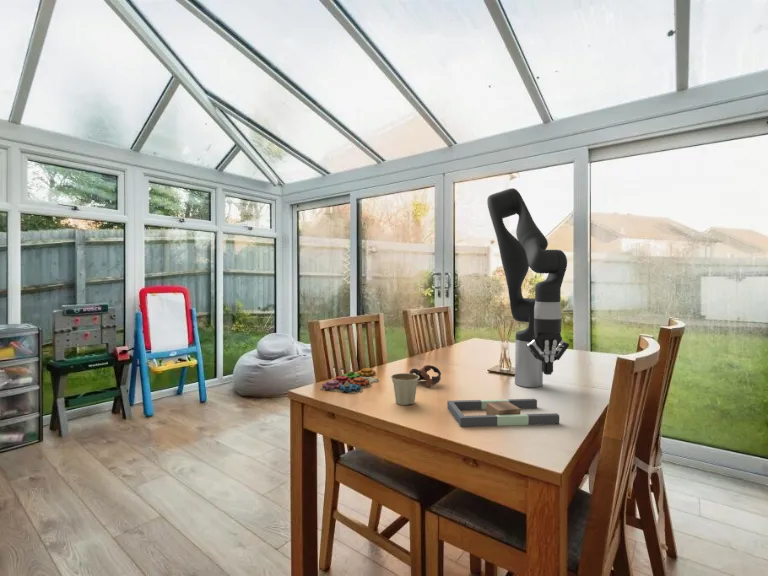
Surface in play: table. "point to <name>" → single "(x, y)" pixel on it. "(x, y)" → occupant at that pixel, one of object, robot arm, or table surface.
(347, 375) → the gear puzzle
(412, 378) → the flower pot
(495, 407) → the walnut block
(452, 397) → the table surface
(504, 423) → the box
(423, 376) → the brown ring toy
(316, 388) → the table surface
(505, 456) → the table surface
